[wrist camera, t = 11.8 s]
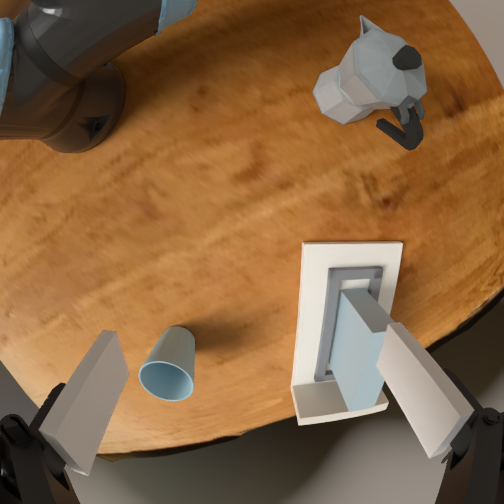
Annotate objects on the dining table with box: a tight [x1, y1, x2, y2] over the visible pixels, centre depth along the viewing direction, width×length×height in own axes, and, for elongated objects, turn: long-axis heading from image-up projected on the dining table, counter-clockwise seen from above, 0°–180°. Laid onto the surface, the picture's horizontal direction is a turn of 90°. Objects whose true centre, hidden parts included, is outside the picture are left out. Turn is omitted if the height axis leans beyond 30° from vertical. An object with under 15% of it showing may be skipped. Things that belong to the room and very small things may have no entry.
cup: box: [139, 326, 195, 401], centre depth 38 cm, size 8×8×10 cm
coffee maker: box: [312, 16, 427, 151], centre depth 24 cm, size 15×9×18 cm, turn 23°
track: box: [291, 241, 403, 425], centre depth 39 cm, size 28×16×9 cm, turn 0°
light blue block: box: [329, 288, 395, 412], centre depth 36 cm, size 14×4×12 cm, turn 0°
